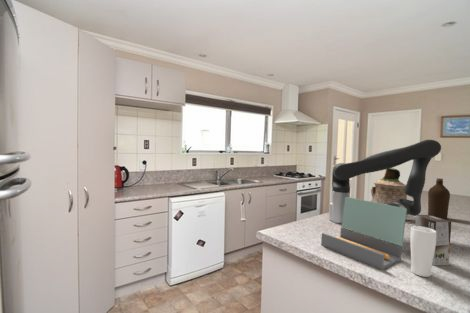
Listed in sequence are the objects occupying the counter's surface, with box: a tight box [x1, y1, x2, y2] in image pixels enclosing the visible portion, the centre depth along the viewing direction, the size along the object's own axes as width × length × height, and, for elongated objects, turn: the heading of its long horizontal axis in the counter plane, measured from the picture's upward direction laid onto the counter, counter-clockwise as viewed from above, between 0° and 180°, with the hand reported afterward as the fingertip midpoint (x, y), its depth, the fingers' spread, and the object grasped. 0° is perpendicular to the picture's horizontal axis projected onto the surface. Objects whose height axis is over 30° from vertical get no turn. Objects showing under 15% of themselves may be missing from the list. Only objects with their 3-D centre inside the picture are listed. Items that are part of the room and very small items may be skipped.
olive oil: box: [427, 177, 451, 220], centre depth 152 cm, size 11×11×25 cm
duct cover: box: [341, 196, 407, 247], centre depth 100 cm, size 24×14×1 cm
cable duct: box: [320, 227, 403, 271], centre depth 95 cm, size 24×15×5 cm, turn 34°
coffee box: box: [415, 214, 452, 266], centre depth 90 cm, size 9×6×16 cm
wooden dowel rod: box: [335, 236, 390, 260], centre depth 95 cm, size 21×2×2 cm, turn 34°
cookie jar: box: [370, 167, 416, 222], centre depth 154 cm, size 25×25×32 cm
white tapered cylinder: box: [409, 225, 436, 278], centre depth 79 cm, size 7×7×15 cm
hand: (375, 215), depth 101 cm, fingers closed
